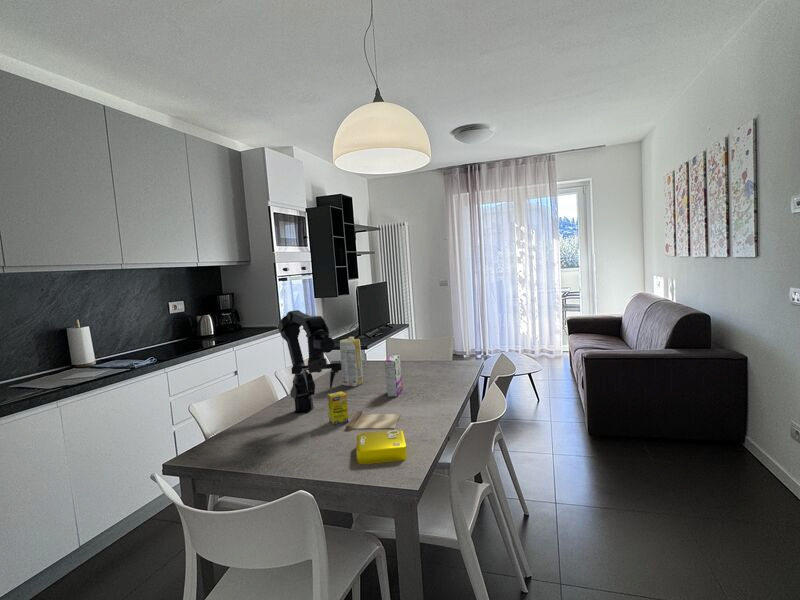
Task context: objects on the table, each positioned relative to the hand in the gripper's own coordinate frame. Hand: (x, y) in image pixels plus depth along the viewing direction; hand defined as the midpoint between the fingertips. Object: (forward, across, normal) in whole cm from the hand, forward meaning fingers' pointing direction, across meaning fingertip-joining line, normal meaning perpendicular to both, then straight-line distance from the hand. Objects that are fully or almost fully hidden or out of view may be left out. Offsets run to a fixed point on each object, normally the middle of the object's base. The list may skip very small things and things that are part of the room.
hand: (318, 389), depth 167 cm
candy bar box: (+13, +30, +27) cm, 43 cm away
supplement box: (+12, +7, -4) cm, 15 cm away
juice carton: (+13, +10, +48) cm, 51 cm away
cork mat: (+12, +21, -8) cm, 26 cm away
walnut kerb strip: (+12, +13, -6) cm, 19 cm away
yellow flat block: (+12, +23, -34) cm, 43 cm away
